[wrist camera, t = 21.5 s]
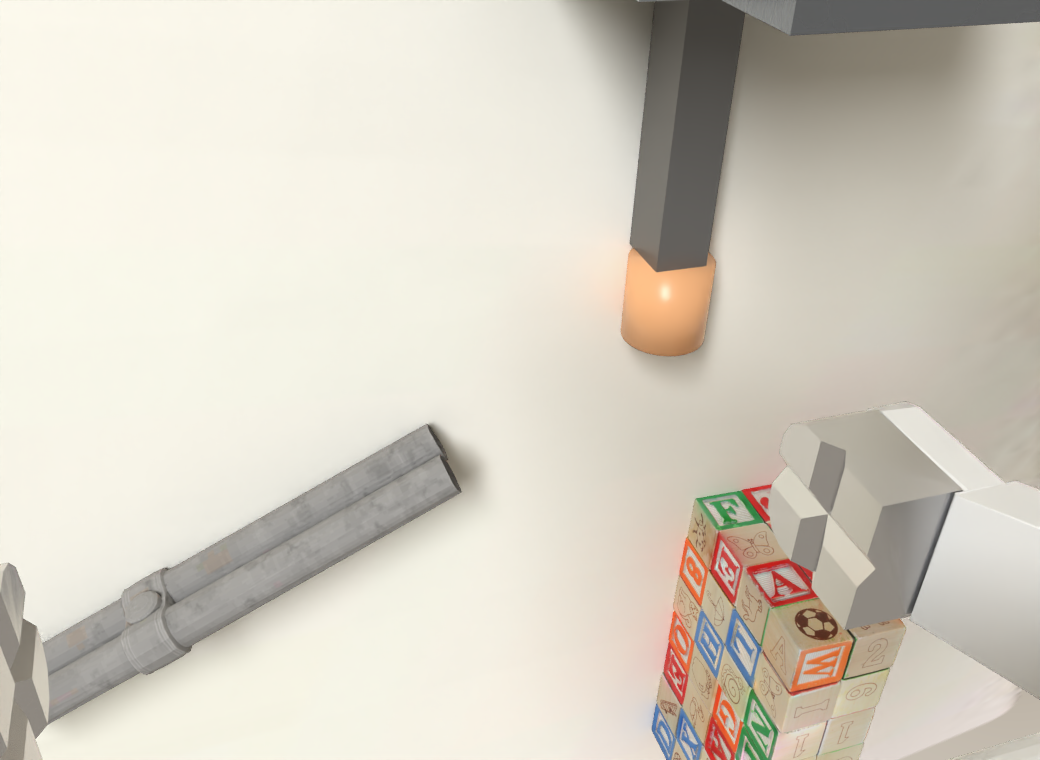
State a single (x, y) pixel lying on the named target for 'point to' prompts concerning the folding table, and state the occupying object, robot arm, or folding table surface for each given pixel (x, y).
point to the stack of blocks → (762, 649)
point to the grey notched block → (883, 14)
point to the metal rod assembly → (246, 570)
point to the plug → (679, 174)
